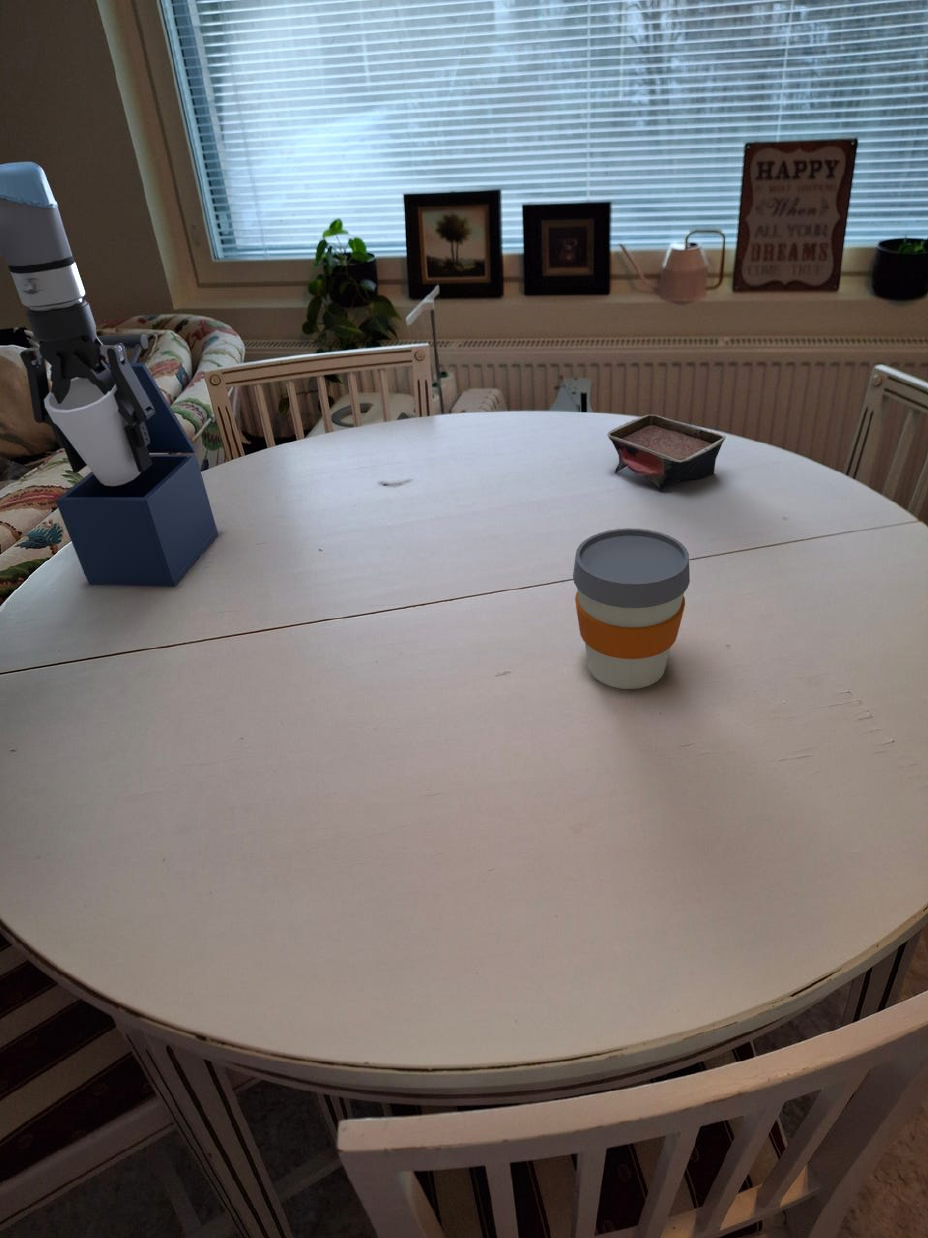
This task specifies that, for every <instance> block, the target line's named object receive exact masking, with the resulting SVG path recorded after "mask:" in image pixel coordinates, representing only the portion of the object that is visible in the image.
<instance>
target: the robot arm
mask: <svg viewBox="0 0 928 1238" xmlns="http://www.w3.org/2000/svg"><path fill="white" fill-rule="evenodd" d="M47 179H48V178H47V176H46V173H45V170H44V169H43V168H42V167H41V166H40V165H39V164H37V163H35V162H34V161H33V162H32V161H17V162H8V163H7V162H6V163H3V164H1V163H0V257H3V258H4V260H5V261H6V264H7V267H8V269H9V272H10V274H11V277H12V280H13V283H14V285H15V288H16V291H17V294H18V296H19V299H20V302H21V304H22V305H23V306H25V307H28V308H27V309H26V312H25V316H26V318H27V319H26V320H27V321H28V324H29V328H30V329H31V332H32V335H33V337H34V339H35V340H37V341H38V344H39V346H38V347H37V346H35V345H33V346H30V347H29V348H27V349H23V351H21V352H20V353H19V357H20V358H21V361H22V363H23V365H24V367H25V369H26V375H27V380H28V381H27V382H28V387H29V394H30V401H31V406H32V413H33V419H34V422H36V423H37V424H46V425H48V426H49V427H50V428H51V429H52V432H53V434H54V436H55V439H56V443H57V444H58V447H59V448H60V449H64V452H65V454H66V457H67V460H68V462H69V465H70V467H71V470H72V473H79V472H81V471H82V470H83V469H84V468H86V467H88V465H87V464H86V463H85V461H84V460H83V459H82V457H81V456H80V455H79V453H78V452H77V451H76V449H75V448H74V447H73V445H72V444H71V443H70V441H69V440H68V439H67V437H66V436H65V435H64V433H63V432H62V431H61V429H60V428H59V427H58V425H57V424H55V423H54V422H53V421H52V419H51V417H50V415H49V413H48V412H47V410H46V408H45V403H44V399H45V398H46V397H47V395H48V394H49V392H50V391H51V393H53V394H54V396H55V398H56V400H57V402H58V404H61V403H62V402H63V400H64V398H65V397H66V395H67V394H68V392H69V389H70V382H71V379H73V378H75V377H78V378H82V379H84V378H87V379H88V380H89V381H90V382H91V383H92V384H94V385H96V386H97V387H98V388H99V389H100V390H101V392H102V393H103V394H104V395H106V394H107V393H108V391H111V390H112V388H113V387H114V385H115V384H116V387H117V390H116V392H115V393H114V397H115V400H116V403H117V406H118V412H119V413H120V414H121V415H122V417H123V418H124V419H125V420H126V421H127V423H128V425H126V426H125V427H124V429H125V432H126V435H127V438H128V441H129V444H130V447H131V450H132V453H133V457H134V460H135V463H136V466H137V469H138V472H144V471H145V470H146V469H147V468H149V467H150V466H151V465H152V461H151V457H150V454H151V453H149V451H148V448H147V445H148V444H149V443H150V439H149V436H148V432H147V429H146V426H145V421H146V420H147V419H149V418H150V417H151V416H152V415H154V414H155V409H154V408H153V406H152V404H151V402H150V400H149V398H148V397H147V395H146V393H145V391H144V389H143V387H142V386H141V384H140V382H139V380H138V378H137V377H136V375H135V373H134V371H133V369H132V367H131V366H130V364H129V362H128V361H129V359H128V354H127V350H125V347H124V345H123V344H121V343H118V344H116V345H114V346H113V345H103V344H102V343H101V342H100V340H99V339H98V336H97V335H98V334H97V329H96V328H97V325H96V322H95V319H94V316H93V314H92V313H93V312H92V310H91V307H90V303H89V302H88V301H87V300H86V299H83V298H84V296H85V295H86V291H85V287H84V285H83V281H82V279H81V276H80V273H79V269H78V267H77V263H76V261H75V258H74V256H73V252H72V249H71V247H70V243H69V240H68V237H67V234H66V231H65V227H64V224H63V220H62V217H61V214H60V210H59V205H58V202H57V201H56V200H55V197H54V195H53V192H52V189H51V186H50V183H49V182H48V180H47ZM103 357H104V358H105V361H104V360H103ZM46 362H47V363H48V364H49V365H50V367H51V366H52V369H51V370H50V382H51V389H50V385H49V378H48V371H47V366H46ZM105 362H106V363H105ZM106 364H110V367H111V369H112V371H113V373H114V375H115V377H116V378H117V380H118V382H119V384H120V385H121V386H120V385H119V384H118V382H117V381H116V380H115V379H114V378H113V376H112V375H111V371H110V369H109V368H108V367H107V366H106ZM98 371H99V372H100V373H99V374H96V373H97V372H98Z"/></svg>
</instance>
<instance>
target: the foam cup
mask: <svg viewBox="0 0 928 1238" xmlns="http://www.w3.org/2000/svg"><path fill="white" fill-rule="evenodd" d="M116 390H117V387H116V384H115V385H114V387H113V388H112V390H111V391H108V393H107V394H106V395H104V394H103V393H102V392H101V390H100V389H99V388H98V387H97V386H96V385H94V384H92V383H91V382H90V381H89V380H88V379H87V378H84V379H82V378H78V377H76V378H74V379H71V382H70V389H69V392H68V394H67V395H66V397H65V398H64V400H63V402H62V403H61V404H58V402H57V400H56V398H55V396H54V394H53V393H51V390H49V394H48V395H47V397H46V398H45V399H44V403H45V408H46V410H47V412H48V413H49V415H50V417H51V419H52V421H53V422H54V423H55V424H57V425H58V427H59V428H60V429H61V431H62V432H63V433H64V435H65V436H66V437H67V439H68V440H69V441H70V443H71V444H72V445H73V447H74V448H75V449H76V451H77V452H78V453H79V455H80V456H81V457H82V459H83V460H84V461H85V463H86V464H87V467H88V468H89V470H90V471H91V472H93V474H94V475H95V476H96V478H97V479H98V480H99V481H100V482H101V483H102V484H104V485H106V486H117V485H122V484H125V483H127V482H129V481H132V480H133V479H135V478H136V477H137V476H138V475H139V474H140V473H141V472H138V469H137V466H136V463H135V460H134V457H133V453H132V450H131V447H130V444H129V441H128V438H127V435H126V432H125V429H124V427H125V426H126V425H128V423H127V421H126V420H125V419H124V418H123V417H122V415H121V414H120V413H119V412H118V406H117V403H116V400H115V397H114V393H115V392H116Z"/></svg>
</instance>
